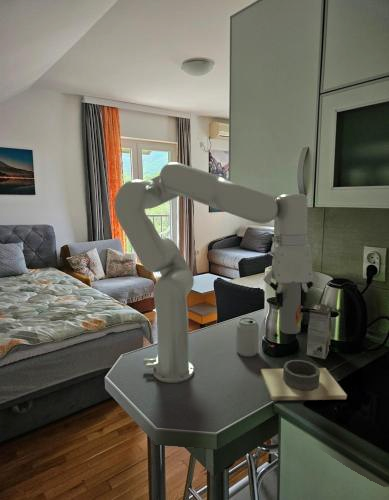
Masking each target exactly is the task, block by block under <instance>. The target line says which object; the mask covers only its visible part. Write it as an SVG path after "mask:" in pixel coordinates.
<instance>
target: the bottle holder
mask: <svg viewBox="0 0 389 500" xmlns="http://www.w3.org/2000/svg"><path fill="white" fill-rule="evenodd" d="M260 374H261V377H262V379H263V382H264V383H265V386H266V389H267V391H268V394H269V396H270V398H271V400H272V401H318V400H319V401H320V400H322V401H325V400H327V401H328V400H329V401H331V400H347V397H348V394H347V393H346V392H345V391H344V389H343V388H342V387H341V386H340V384H339V383H338V382H337V381H336V379H335V378H334V377H333V376H332V375H331V373H330V372H329V371H328V370H327V368H326V367H318V366H317V365H316V364H315V363H312V362H310V361H307V360H302V359H291V360H288V361H285V363H284V365H283V367H282V368H260Z"/></svg>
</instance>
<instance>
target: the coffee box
mask: <svg viewBox="0 0 389 500" xmlns="http://www.w3.org/2000/svg"><path fill="white" fill-rule="evenodd" d="M326 305H327V304H326V303H325V304H324V303H319V302H313V304H312V305H311V307H310V309H315V310H310V309H309V310H308V323H307V324H308V326H307V328H308V329H307V342H306V355H307V356H309V357H310V356H311V357H315V358H320V359H322V360H326V359H327V357H328V353H329V352H330V349H329V345H330V346H331V337H330V331H331V332H332V320H331V311H332V312H333V306H332V307H329V306H330V305H329V306H326Z"/></svg>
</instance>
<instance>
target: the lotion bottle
mask: <svg viewBox="0 0 389 500" xmlns="http://www.w3.org/2000/svg"><path fill="white" fill-rule="evenodd" d="M281 293H282V294H283V306H282V307H279V306H278V309H279V310H278V311H279V313H278V314H279V318H278V319H279V325H278V326H279V330H280V331H281V333H283V334H287V335H295V334H299V333H300V332H301V326H302V325H301V321H302V319H301V318H302V317H301V314H302V312H301V311H302V310H301V309H302V306H301V283H296V282H294V281H292V282H291V283H287V284H282V290H281Z"/></svg>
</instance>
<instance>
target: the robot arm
mask: <svg viewBox="0 0 389 500" xmlns="http://www.w3.org/2000/svg"><path fill="white" fill-rule="evenodd" d="M178 197H182V198H186V199H188V200H192V201H194V202H197V203H201V204H203V205H206V206H207V207H211V208H212V209H217V210H220V211H223V212H226V213H227V214H229V215H234V216H236V217H239V218H240V219H241V218H242V219H244V220H247V221H250V222H253V223H256V224H261V225H264V224H267V223H270V222H272V221H275V220H277V233H276V236H275V235H274V236H272V237H271V241H272V242H273V243H276V244H275V245H274V248H273V253H272V254H273V255H272V261H271V269H270V271H268V273H267V274H266V275H265V276H264V277H263V281H264V283H266V284H267V285H268V286H269V287H271V289H273V290H274V291H275V292H274V293H275V294H274V295H275V298H274V299H275V303H276V304H277V306H278V308H279V307H282V306H283V294H282V293H281V290H282V284H287V283H291V282H292V281H294V282H296V283H301V307H305V306H306V305H305V303H307V293H308V292H309V290H310V289H311V287H313V286H314V284H316V283H317V282H318V281H319V280H320V277H319V276H318V275H317V274H316V273H315V272H314V270H313V261H312V251H311V246H310V245H309V244H307V235H308V234H307V232H308V231H307V229H308V197H307V196H306V194H304V193H285V194H284V193H283V194H281V195H280V194H279V195H277V194H267V193H264V192H261V191H258V190H256V189H251V188H249V187H245V186H243V185H241V184H237V183H235V182H232V181H229V180H228V179H226V178H225V177H222V176H219V175H217V174H213V173H210V172H209V171H208V172H207V171H205V170H202V169H198V168H195V167H192V166H189V165H187V164H184V163H181V162H176V161H175V162H174V161H173V162H168V163H166V164H165V165H164V166H163V167H162V168H161V170H160V172H159V175H157V176H155V177H153V178H151V179H148V180H144V179H132V180H128V181H126V182H125V183H123V185H121V186H120V188H119V189H118V191H117V193H116V195H115V198H114V205H113V208H114V213H115V218H116V219H117V222H118V224H119V225H120V227H121V228H122V230H123V232H124V234H125V235H126V238H127V239H128V241H129V243H130V245H131V247H132V249H133V251H134V252H135V254H136V257H137V258H138V260H139V262H140V264H141V265H142V267H143V268H144V269H145V270H146V271H147V272H150V273H158V272H159V273H160V275H161V276H159V278H158V279H157V280H156V282H155V285H154V288H153V299H154V305H155V311H156V312H155V313H156V315H155V316H156V334H157V335H156V341H157V343H156V345H157V356H156V357H154V358H143V366H146V369H152V374H153V377H154V378H155V379H156V380H159V381H160V382H163V383H167V384H168V383H169V384H173V383H174V384H175V383H181V382H185V381H186V380H189V379H190V378H191V377H192V376H193V375H194V372H195V371H194V370H195V369H194V365H193V364H192V363H191V362H189V360H190V359H189V356H190V353H189V345H190V344H189V343H190V342H189V310H188V304H187V303H188V301H187V299H188V298H187V296H188V295H189V293H191V291H192V289H193V287H194V284H195V280H194V276H193V273H192V270H191V269H190V267H189V265H188V263H187V260H186V259H185V258H184V256H183V254H182V252H181V250H180V248H179V247H178V245H177V244H176V242H175V241H173V240H172V239H171V238H169V237H165V236H160V234H159V233H158V230H157V229H156V227H155V225H154V223H153V222H152V220H151V219H150V218H149V216H148V215H147V213H146V211H145V210H147V209H154V208H156V207H159V206H161V205H164V204H165V203H167V202H169V201H172V200H173V199H176V198H178ZM271 279H273V281H275V282H273V281H272V280H271Z"/></svg>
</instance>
